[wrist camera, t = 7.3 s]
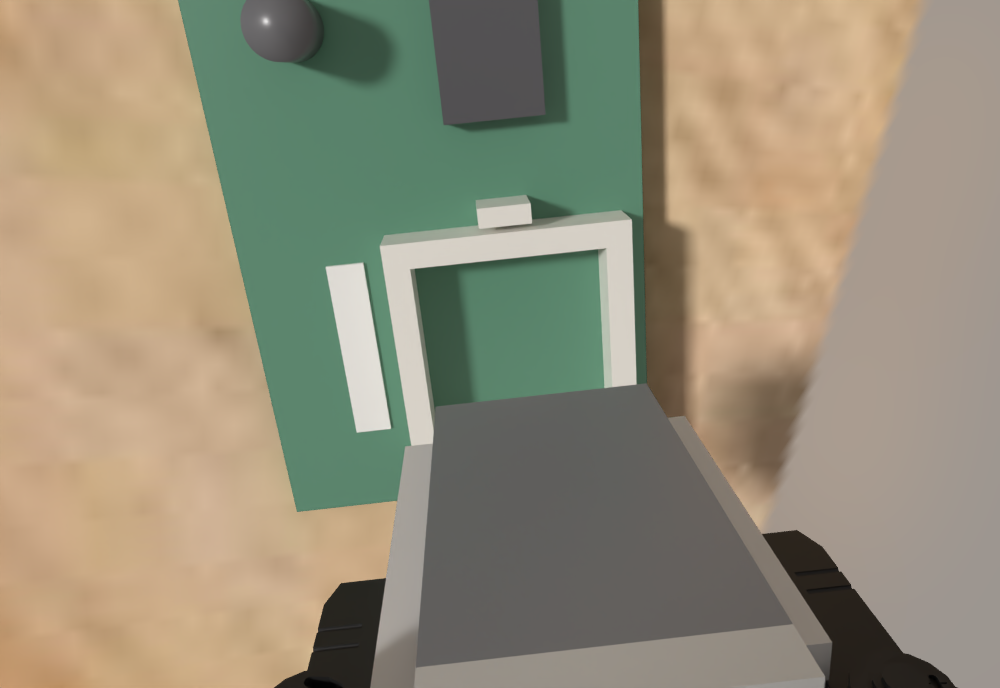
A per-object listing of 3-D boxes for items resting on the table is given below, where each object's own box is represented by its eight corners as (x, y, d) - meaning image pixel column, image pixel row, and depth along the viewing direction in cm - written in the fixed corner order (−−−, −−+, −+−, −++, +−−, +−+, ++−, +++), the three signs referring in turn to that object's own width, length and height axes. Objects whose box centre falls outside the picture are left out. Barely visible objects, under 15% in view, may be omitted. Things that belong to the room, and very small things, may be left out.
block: (435, 406, 15) (411, 724, 8) (646, 383, 15) (824, 676, 8) (464, 608, 17) (466, 1022, 10) (652, 586, 17) (800, 982, 10)
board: (163, -115, 20) (116, -144, 17) (625, -160, 20) (653, -196, 18) (302, 496, 27) (285, 545, 25) (642, 458, 28) (663, 502, 25)
